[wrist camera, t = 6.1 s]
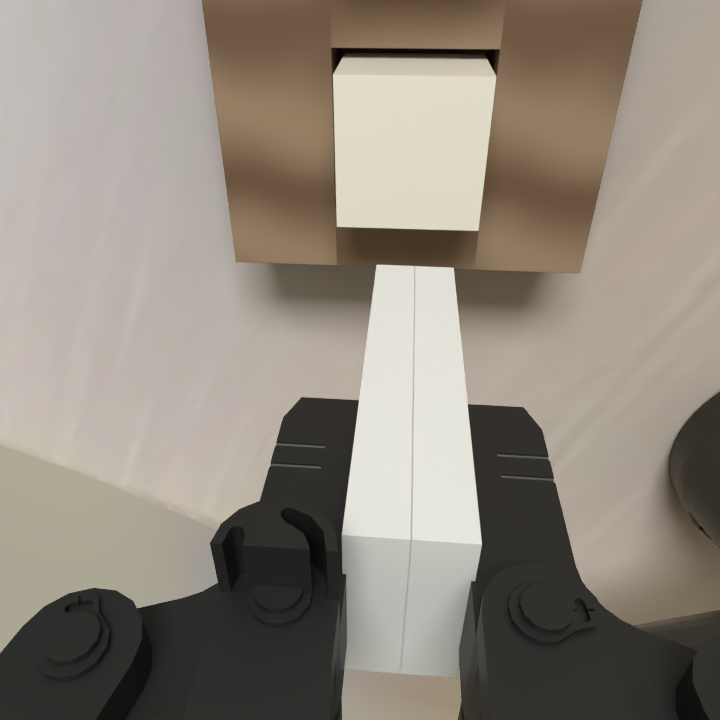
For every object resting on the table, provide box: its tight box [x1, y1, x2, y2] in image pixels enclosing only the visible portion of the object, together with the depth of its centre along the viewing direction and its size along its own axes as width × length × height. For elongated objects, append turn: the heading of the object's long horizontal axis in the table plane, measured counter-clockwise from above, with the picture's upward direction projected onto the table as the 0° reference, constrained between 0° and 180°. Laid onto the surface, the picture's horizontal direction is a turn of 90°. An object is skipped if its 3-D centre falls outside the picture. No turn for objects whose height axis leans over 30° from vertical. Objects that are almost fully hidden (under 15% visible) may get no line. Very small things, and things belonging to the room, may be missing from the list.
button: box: [333, 53, 496, 231], centre depth 24 cm, size 6×6×4 cm
